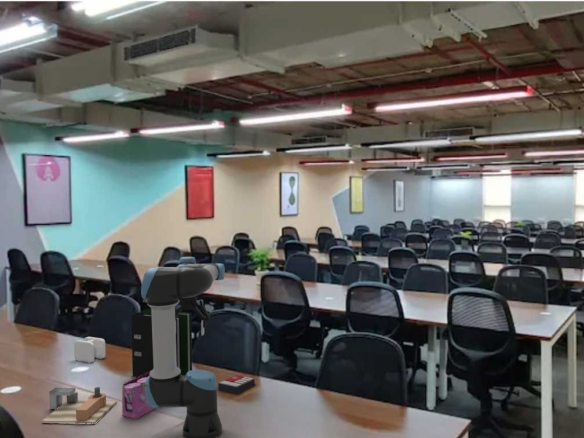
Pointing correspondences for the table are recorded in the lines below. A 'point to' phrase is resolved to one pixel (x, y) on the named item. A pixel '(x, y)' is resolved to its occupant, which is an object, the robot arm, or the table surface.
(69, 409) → the plate
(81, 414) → the link
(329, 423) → the table surface
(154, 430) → the table surface
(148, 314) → the binder
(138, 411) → the gum box
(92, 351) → the cable organizer
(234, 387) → the calculator
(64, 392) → the keeper
